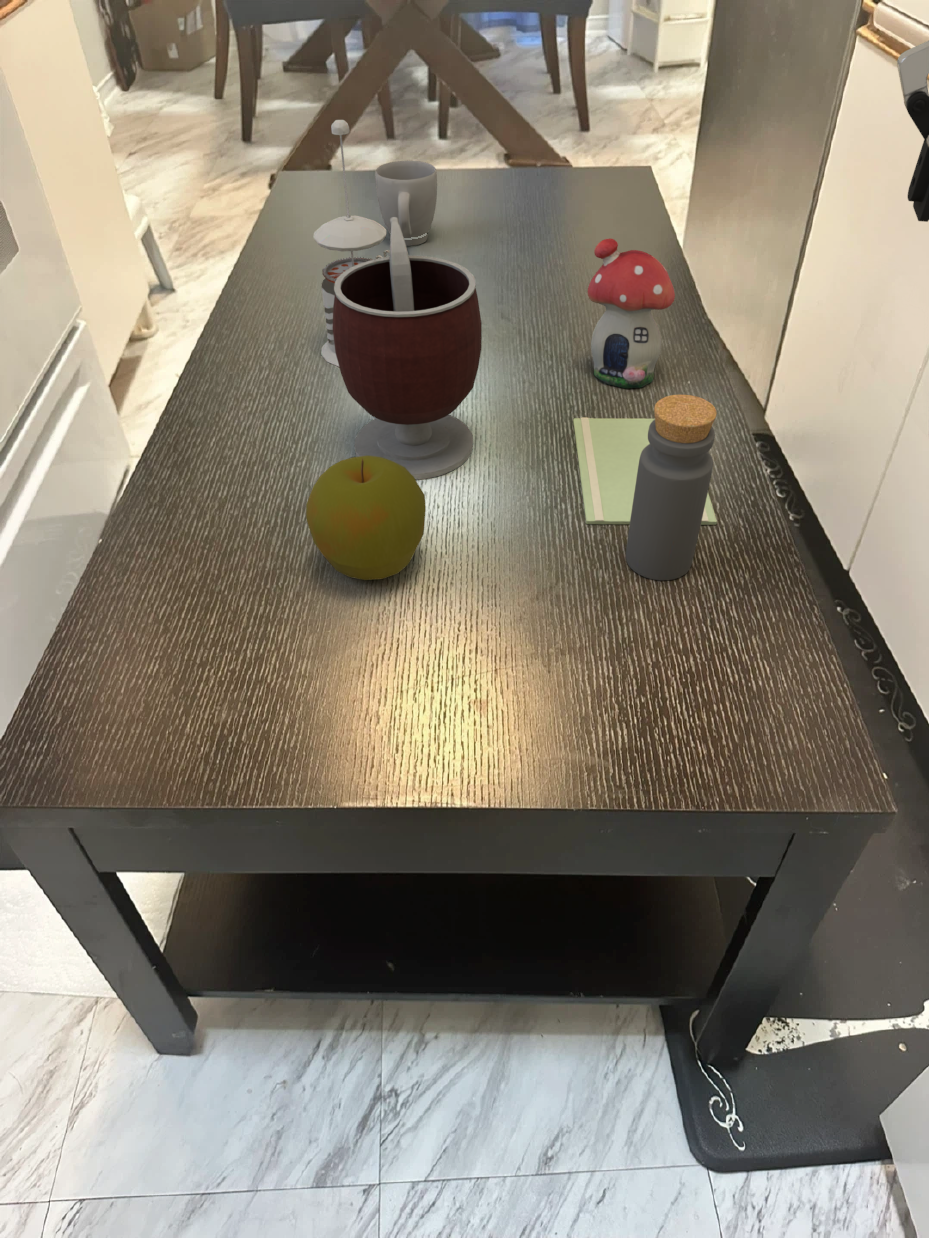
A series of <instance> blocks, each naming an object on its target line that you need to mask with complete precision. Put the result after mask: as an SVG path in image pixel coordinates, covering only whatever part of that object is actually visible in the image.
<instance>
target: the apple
mask: <svg viewBox="0 0 929 1238" xmlns="http://www.w3.org/2000/svg"><path fill="white" fill-rule="evenodd" d="M426 510H427V509H426V495H425V493H424V492H423V490H422V488H421V486H420V485H419V484H418V481H417V479H415V478H414V477H413V476H412V475H411V474H410V472H409V471H408V470H407V469H406V468H405V467H403V466H401V465H399V464H397V463H395V462H393V461H391V460H388V459H385V458H382V457H376V456H360V457H357V456H352V457H349V458H346V459H342V460H339V461H338V462H336V463H334V464H332V465H331V466H330V467H328V468H327V469H326V470H325V471H324V472H322V474H321V475H320V476H319V477H318V479H317V480H316V481H315V483H314V485H313V486H312V489H311V491H310V494H309V496H308V500H307V501H306V504H305V511H306V512H305V516H306V518H305V519H306V522H307V526H308V528H309V529H308V530H309V531H310V535H311V539H312V541H313V544H314V545H315V546H316V548H317V550H319V553H321V555H322V556H323V557H324V558H325V559H326V561H327V562H328V563H329V564H330V565H331V566H332V567H333V568H334V570H335V571H336V572H339V573H340V574H341V575H344V576H346V577H349V578H352V579H353V578H354V579H359V580H363V581H369V580H370V581H371V580H372V581H373V580H383V579H386V578H389V577H392V576H395V575H398V574H399V573H400V572H401V571H403V570H404V569H405V568H406V567H407V566H409V564H410V562H411V560H412V559H413V556H414V555H415V553H416V550H417V548H418V546H419V545H420V543H421V540H422V539H423V536H424V535H425V523H426Z"/></svg>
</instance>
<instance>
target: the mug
mask: <svg viewBox="0 0 929 1238" xmlns="http://www.w3.org/2000/svg"><path fill="white" fill-rule="evenodd" d="M374 178H375V188H376V189H375V190H376V197H377V202H378V207H379V211H380V215H381V218H382V220H383V223H384V225H385V227H386V230H387V231H388V234H389V235H390V233H391V224H390V219H391V218H392V217H397V218H398V221H399V226H400V228H401V231H402V234H403V237H404V238H411V237H418V236H421V235H423V234H425V233H427V232H428V231H429V232H430V229H431V227H432V225H433V222H434V218H435V214H436V213H435V212H436V208H437V207H436V206H437V197H438V171H437V168H436V167H435V166H434V165H433V164H431V163H429V162H426V161H421V160H410V159H409V160H408V159H407V160H396V161H390V162H387V163H383V164H381V165H379V166H378V167H377V168H376V169H375V172H374ZM429 232H428V234H427V235H426V236H424V237H422V238H418V239H412V240H405V244H406V247H409V246H410V247H412V246H418V245H421V244H423V243H425V242H427V240H428V236H429ZM390 237H391V235H390Z"/></svg>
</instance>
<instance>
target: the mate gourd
mask: <svg viewBox="0 0 929 1238" xmlns="http://www.w3.org/2000/svg"><path fill="white" fill-rule="evenodd" d="M390 224H391V236H390V238H389V239H390V240H389V251H390V254H389V256H386V257H385V258H384V257H383V258H378V259H376V258H375V259H374V258H373V260H370V261H367V262H364V263H361V264H358V265H356V266H353V267H351V268H350V269H348V270H346V271H345V272H343V273H342V274H341V275H340V276H339V277H338V278H337V280H336V282H335V285H334V292H335V297H334V305H333V336H334V345H335V353H336V357H337V360H338V364H339V371H340V374H341V378H342V381H343V383H344V385H345V388H346V390H347V393H348V395H350V397H351V398H352V399H353V400H354V401H355V402H356V403H357V404H358V405H359V406H360V407H362V409H364V410H365V412H367V413H368V414H369V415H370V416H372V417H373V418H374V419H371V420H370V421H368V422H367V423H366V424H365V425H363V426H362V427H361V428H360V429H359V431H358V432H357V433H356V436H355V438H354V453H355V457H360V456H376V457H382V458H385V459H388V460H391V461H393V462H395V463H397V464H399V465H401V466H403V467H405V468H406V469H407V470H408V471H409V472H410V474H411V475H412V476H413V477H414V478H415V480H425V479H432V478H436V477H439V476H443V475H446V474H449V473H451V472H453V471H455V470H457V469H458V468H460V467H461V466H462V465H464V464H465V462H467V461H468V460H469V459H470V457H471V455H472V453H473V450H474V436H473V432H472V431H471V429H470V427H469V426H467V424H466V423H464V421H462V420H460V419H459V418H457V417H456V416H453V415H451V414H452V413H453V412H454V411H456V409H457V408H458V407H459V406H460V405H461V404H462V403H463V401H465V399H466V398H467V397H468V395H469V394H470V393H471V391H472V390H473V388H474V386H475V383H476V378H477V375H478V370H479V365H480V359H481V353H482V335H483V334H482V328H483V327H482V325H483V324H482V318H481V317H482V316H481V310H480V304H479V297H478V292H477V288H476V287H477V286H476V285H477V284H476V283H477V282H476V278H475V276H474V275H473V273H472V272H471V271H470V270H469V269H467V268H466V267H465V266H463V265H460V264H459V263H457V262H454V261H451V260H448V259H444V258H439V257H434V256H433V257H432V256H426V255H409V251H408V248H407V247H408V246H406V244H405V240H404V237H403V234H402V231H401V228H400V226H399V221H398V218H397V217H392V218H391V219H390Z"/></svg>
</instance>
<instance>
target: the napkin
mask: <svg viewBox="0 0 929 1238" xmlns="http://www.w3.org/2000/svg"><path fill="white" fill-rule="evenodd" d="M653 420H655V418H623V417H622V418H618V417H617V418H614V417H613V418H609V417H608V418H605V417H604V418H602V417H601V418H596V417H593V418H590V417H586V416H585V417H583V416H581V417H580V418H579V417H577V418H576V417H575V418H572V424H573V425H572V426H573V432H574V440H575V448H576V455H577V464H578V471H579V479H580V486H581V495H582V502H583V511H584V519H585V524H586V525H630V519H631V512H632V505H633V499H634V492H635V485H636V478H637V472H638V465H639V460H640V455H641V452H642V450H643V449H644V448H645V447H646V446H647V445H649V444H650V443H649V441H648V430H649V426H650V424H651V422H652V421H653ZM717 524H718V520H717V517H716V514H715V511H714V506H713V504H712V500H711V497H710V494H709V492H708V494H707V498H706V503H705V508H704V512H703V517H702V521H701V526H717Z"/></svg>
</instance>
